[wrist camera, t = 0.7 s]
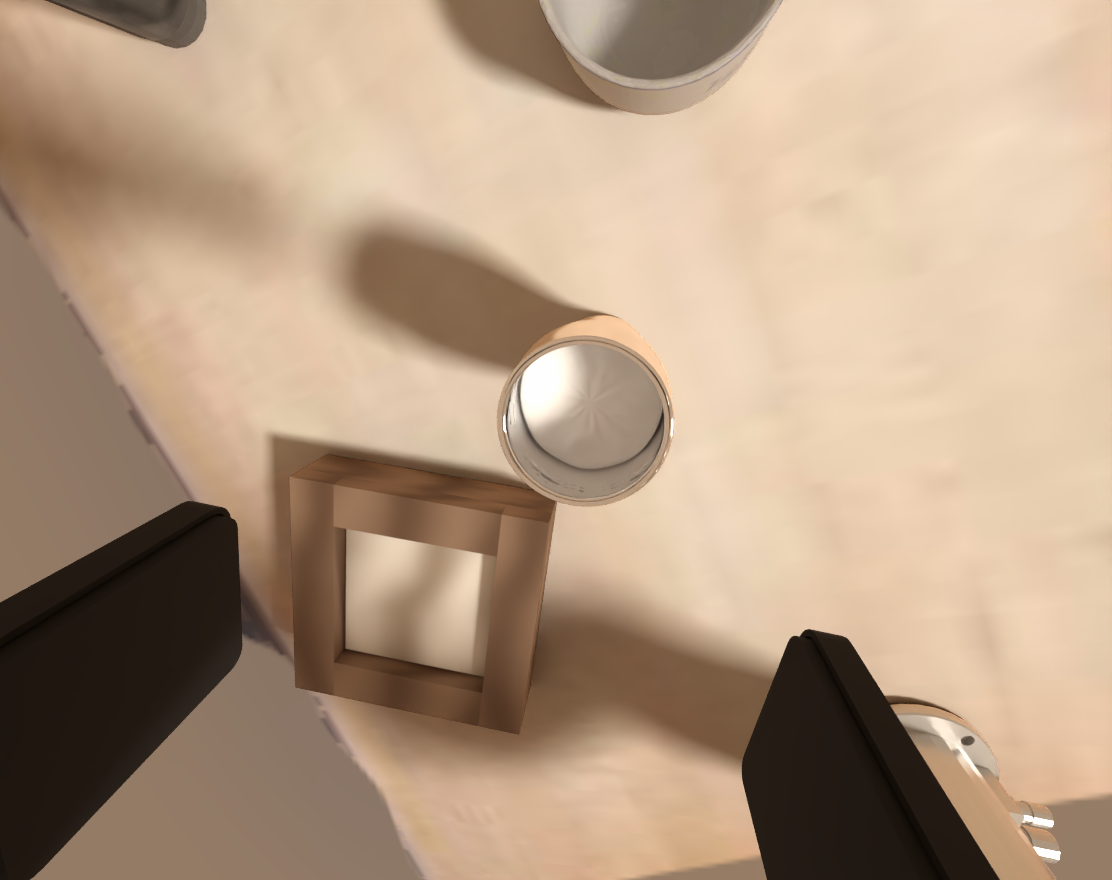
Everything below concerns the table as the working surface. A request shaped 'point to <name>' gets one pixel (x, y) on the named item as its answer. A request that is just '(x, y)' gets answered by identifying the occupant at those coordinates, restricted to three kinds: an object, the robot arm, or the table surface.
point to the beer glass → (587, 413)
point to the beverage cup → (147, 17)
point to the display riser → (417, 589)
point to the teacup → (657, 47)
